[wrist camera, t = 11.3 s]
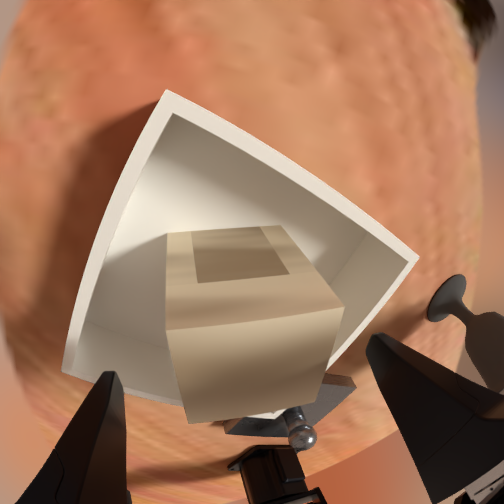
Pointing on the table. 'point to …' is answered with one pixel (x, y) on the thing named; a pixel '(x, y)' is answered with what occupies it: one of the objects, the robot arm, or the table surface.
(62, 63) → the table surface
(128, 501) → the drinking cup
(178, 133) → the bin
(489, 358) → the sundae
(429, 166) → the table surface
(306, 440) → the stud plate
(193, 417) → the socket block
